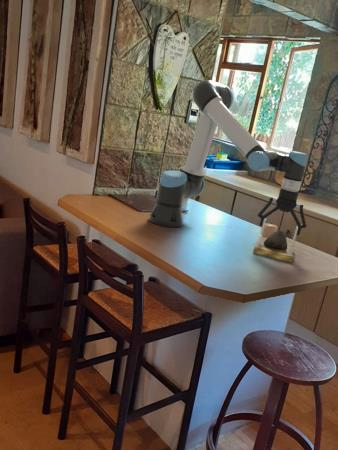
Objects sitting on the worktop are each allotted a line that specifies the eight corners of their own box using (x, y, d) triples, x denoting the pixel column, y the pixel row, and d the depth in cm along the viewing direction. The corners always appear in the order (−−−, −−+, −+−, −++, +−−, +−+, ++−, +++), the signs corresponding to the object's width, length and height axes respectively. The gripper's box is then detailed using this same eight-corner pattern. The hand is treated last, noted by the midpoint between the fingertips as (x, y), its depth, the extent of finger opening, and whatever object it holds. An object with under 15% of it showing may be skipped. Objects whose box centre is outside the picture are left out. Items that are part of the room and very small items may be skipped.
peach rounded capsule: (260, 239, 204) (264, 225, 202) (261, 236, 210) (265, 222, 208) (273, 242, 203) (277, 228, 201) (274, 239, 208) (278, 225, 206)
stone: (274, 259, 183) (295, 246, 182) (263, 242, 182) (284, 229, 181) (269, 255, 193) (289, 242, 192) (259, 239, 192) (278, 226, 191)
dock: (253, 252, 183) (254, 246, 182) (257, 241, 200) (258, 236, 199) (291, 262, 179) (293, 256, 178) (293, 250, 196) (294, 245, 195)
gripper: (259, 183, 181) (247, 232, 187) (321, 197, 175) (307, 247, 181) (260, 181, 188) (249, 228, 194) (320, 195, 182) (306, 243, 188)
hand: (277, 237), depth 188 cm, fingers open, 13 cm apart
